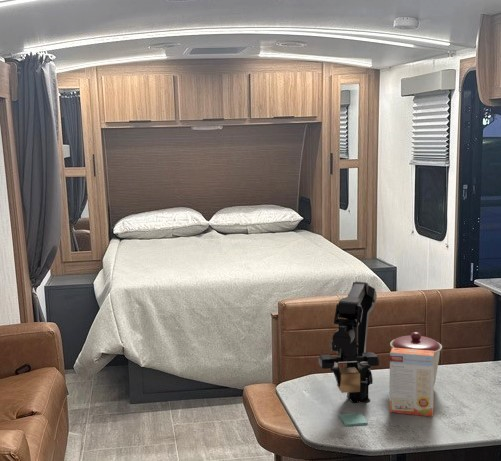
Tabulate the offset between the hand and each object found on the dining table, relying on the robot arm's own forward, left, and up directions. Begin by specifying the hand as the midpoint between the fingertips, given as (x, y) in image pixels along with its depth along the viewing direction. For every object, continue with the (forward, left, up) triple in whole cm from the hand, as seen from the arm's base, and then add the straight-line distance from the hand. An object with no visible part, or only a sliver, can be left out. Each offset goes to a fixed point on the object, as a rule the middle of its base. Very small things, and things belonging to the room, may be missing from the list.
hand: (348, 385), depth 203 cm
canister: (-31, -19, -11) cm, 38 cm away
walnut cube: (0, 0, -1) cm, 1 cm away
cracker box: (-22, -1, -11) cm, 25 cm away
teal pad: (-1, +2, -11) cm, 11 cm away
